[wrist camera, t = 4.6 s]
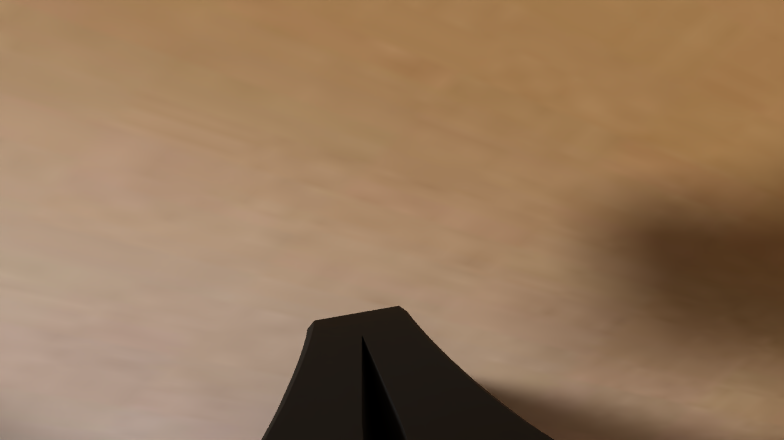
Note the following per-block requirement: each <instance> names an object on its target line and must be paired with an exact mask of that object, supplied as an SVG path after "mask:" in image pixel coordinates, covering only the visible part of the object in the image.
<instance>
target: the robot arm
mask: <svg viewBox="0 0 784 440" xmlns="http://www.w3.org/2000/svg"><path fill="white" fill-rule="evenodd" d="M262 440H554V439H552V438H550V437H549V436H547V435H546V434H544V433H543V432H541V431H539V430H538V429H537V428H535V427H534V426H532V425H531V424H529V423H528V422H526V421H525V420H524V419H522V418H521V417H520V416H518V415H517V414H515V413H514V412H513V411H511V410H510V409H509V408H508V407H506V406H505V405H504V404H502V403H501V402H500V401H499V400H497V399H496V398H495V397H494V396H492V395H491V394H490V393H489V392H487V391H486V390H485V389H484V388H483V387H481V386H480V385H479V384H478V383H477V382H475V381H474V380H473V379H472V378H471V377H470V376H469V375H468V374H467V373H465V372H464V371H463V370H462V369H461V368H460V367H459V366H458V365H457V364H456V363H454V362H453V361H452V360H451V359H450V358H449V357H448V356H447V355H446V354H445V353H444V352H443V351H442V350H441V349H440V348H439V347H438V346H437V345H436V344H435V343H434V342H433V341H432V340H431V339H430V338H429V337H428V336H427V335H426V333H425V332H424V331H423V330H422V329H421V328H420V327H419V326H418V325H417V323H416V322H415V321H414V320H413V319H412V317H411V316H410V315H409V313H408V312H407V311H405V310H404V309H403V308H401V307H400V306H395V307H390V308H384V309H378V310H372V311H367V312H361V313H355V314H350V315H344V316H338V317H332V318H327V319H321V320H315V321H314V322H313V323H312V324H311V325H310V327H309V328H308V329H307V335H306V339H305V343H304V346H303V349H302V352H301V355H300V358H299V361H298V363H297V366H296V369H295V371H294V374H293V376H292V379H291V381H290V383H289V385H288V387H287V390H286V392H285V394H284V396H283V399H282V401H281V403H280V405H279V407H278V410H277V412H276V414H275V416H274V418H273V419H272V421H271V423H270V425H269V427H268V429H267V430H266V432H265V434H264V436H263V438H262Z"/></svg>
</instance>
